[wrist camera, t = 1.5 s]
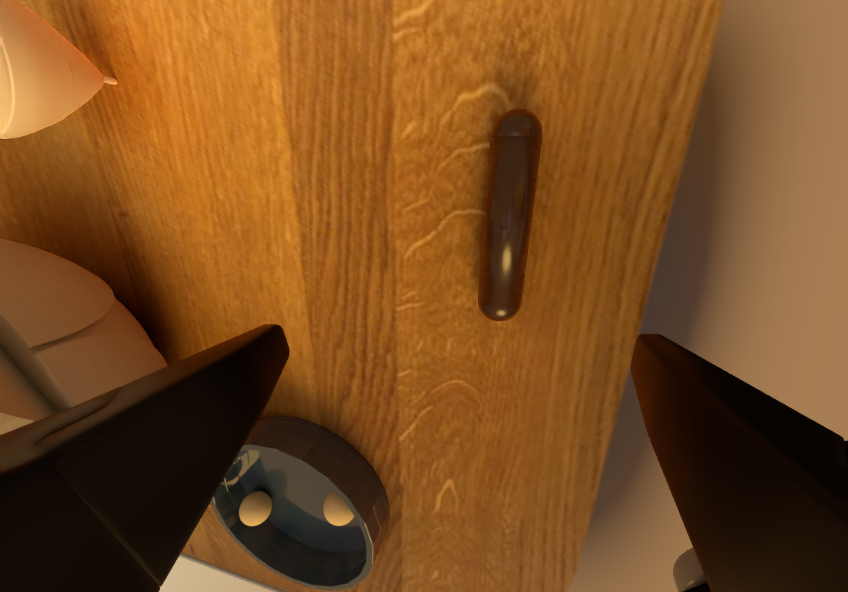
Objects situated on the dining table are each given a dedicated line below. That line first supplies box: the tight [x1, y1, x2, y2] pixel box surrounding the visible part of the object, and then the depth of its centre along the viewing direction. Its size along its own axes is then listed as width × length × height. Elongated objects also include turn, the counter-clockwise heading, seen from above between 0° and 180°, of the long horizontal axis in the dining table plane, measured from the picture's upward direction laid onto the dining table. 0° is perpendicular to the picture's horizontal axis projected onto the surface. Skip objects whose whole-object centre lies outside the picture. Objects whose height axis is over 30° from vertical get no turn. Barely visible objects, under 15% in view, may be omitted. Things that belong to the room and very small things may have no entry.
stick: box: [478, 109, 542, 321], centre depth 18 cm, size 11×2×2 cm, turn 179°
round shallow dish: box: [210, 416, 389, 591], centre depth 32 cm, size 16×16×4 cm
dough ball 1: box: [239, 491, 272, 526], centre depth 33 cm, size 3×3×3 cm
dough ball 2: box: [323, 490, 354, 526], centre depth 29 cm, size 3×3×3 cm
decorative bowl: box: [0, 239, 168, 435], centre depth 27 cm, size 30×30×15 cm
